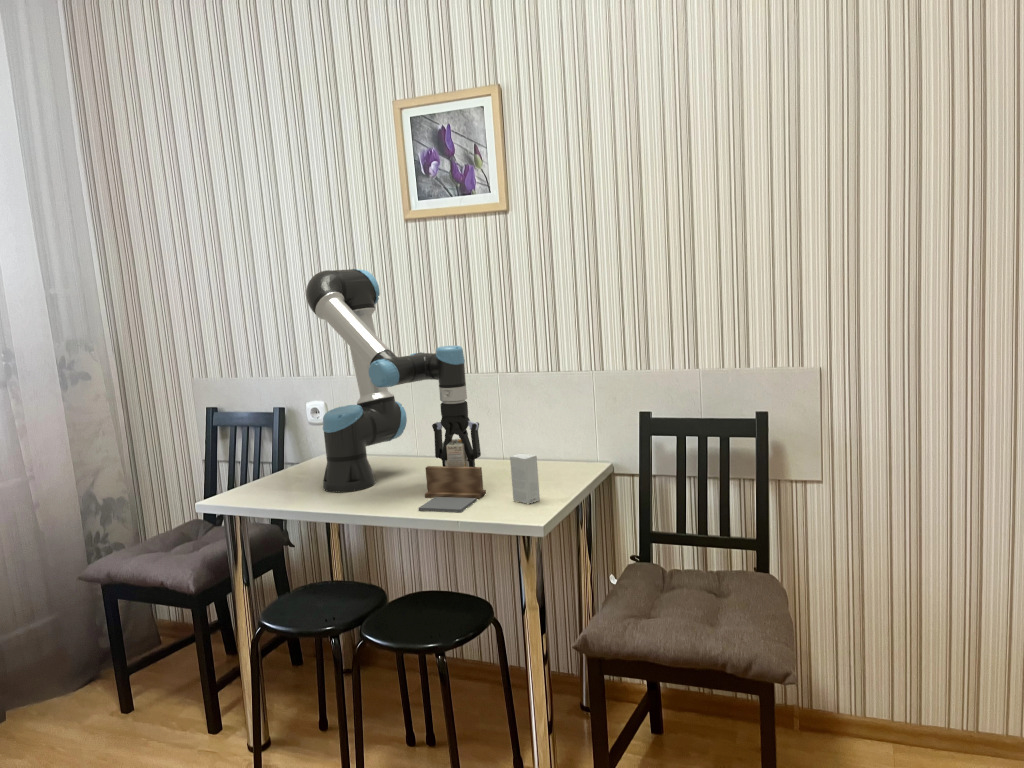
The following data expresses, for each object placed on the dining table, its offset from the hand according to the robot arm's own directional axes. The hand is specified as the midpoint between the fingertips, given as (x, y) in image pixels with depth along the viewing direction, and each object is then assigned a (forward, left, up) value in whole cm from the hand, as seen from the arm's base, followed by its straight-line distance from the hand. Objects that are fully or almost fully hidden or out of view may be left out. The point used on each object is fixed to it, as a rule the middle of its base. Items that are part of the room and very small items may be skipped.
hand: (460, 482), depth 216 cm
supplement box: (0, 0, -2) cm, 2 cm away
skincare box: (+23, -10, -2) cm, 26 cm away
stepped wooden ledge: (+2, -8, -2) cm, 9 cm away
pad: (+4, -17, -2) cm, 18 cm away
